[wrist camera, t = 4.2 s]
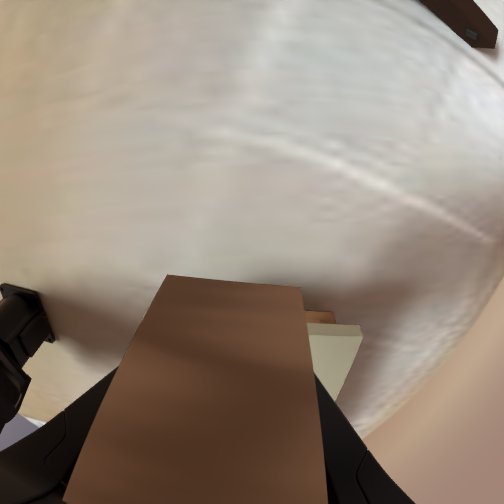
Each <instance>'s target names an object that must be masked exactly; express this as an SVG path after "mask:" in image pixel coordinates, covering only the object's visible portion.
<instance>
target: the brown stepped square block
mask: <svg viewBox="0 0 504 504" xmlns="http://www.w3.org/2000/svg"><path fill="white" fill-rule="evenodd" d="M62 501H64V502H66V503H67V504H328V497H327V485H326V473H325V463H324V452H323V443H322V434H321V425H320V416H319V408H318V400H317V392H316V384H315V377H314V370H313V362H312V355H311V349H310V342H309V335H308V329H307V322H306V316H305V310H304V304H303V298H302V292H301V287H290V286H278V285H266V284H255V283H244V282H233V281H223V280H213V279H203V278H194V277H185V276H175V275H167V276H166V278H165V279H164V281H163V283H162V285H161V287H160V288H159V290H158V292H157V294H156V296H155V298H154V299H153V301H152V303H151V305H150V307H149V309H148V310H147V312H146V314H145V316H144V318H143V320H142V322H141V324H140V326H139V328H138V329H137V331H136V333H135V335H134V337H133V339H132V341H131V343H130V345H129V347H128V349H127V351H126V353H125V355H124V357H123V359H122V361H121V363H120V365H119V367H118V369H117V371H116V373H115V376H114V378H113V380H112V382H111V384H110V386H109V388H108V390H107V392H106V395H105V397H104V399H103V401H102V403H101V406H100V408H99V410H98V412H97V414H96V417H95V419H94V421H93V424H92V426H91V428H90V431H89V433H88V435H87V438H86V440H85V442H84V445H83V447H82V450H81V452H80V455H79V457H78V460H77V462H76V465H75V467H74V470H73V472H72V475H71V478H70V480H69V483H68V486H67V488H66V491H65V494H64V497H63V500H62Z"/></svg>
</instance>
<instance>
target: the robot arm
mask: <svg viewBox="0 0 504 504" xmlns="http://www.w3.org/2000/svg"><path fill="white" fill-rule="evenodd" d="M0 291H1V294H2V297H3V299H2V300H1V301H0V434H1V431H2V429H3V427H4V425H5V423H8V422H9V421H10V420H12V419H13V418H14V417H15V415H16V414H17V412H18V411H19V409H20V407H21V404H22V401H23V399H24V396H25V394H26V391H27V389H28V386H29V384H30V382H31V378H30V376H29V375H27V374H26V373H25V372H24V371H23V370H22V367H23V366H24V364H25V363H26V362H27V360H28V359H29V357H33V355H34V354H35V352H36V351H37V350H38V348H39V347H40V346H41V344H42V343H43V342H44V341H46V342H49V343H53V342H54V341H55V338H54V336H53V333H52V331H51V328H50V326H49V323H48V321H47V318H46V315H45V313H44V310H43V307H42V304H41V302H40V299H39V296H38V294H37V293H36V292H33V291H29V290H25V289H21V288H17V287H14V286H10V285H6V284H1V285H0ZM118 367H119V366H118ZM118 367H116V368H115V369H114V370H113V371H112V372H110V373H109V374H108V375H107V376H105V377H104V378H103V379H102V380H100V381H99V382H98V383H97V384H95V385H94V386H93V387H92V388H90V389H89V390H88V391H87V392H85V393H84V394H83V395H82V396H80V397H79V398H78V399H77V400H75V401H74V402H73V403H72V404H70V405H69V406H68V407H67V408H65V409H64V411H61V412H60V413H59V414H58V415H56V416H55V417H54V418H53V419H51V420H50V421H49V422H47V423H46V424H45V425H43V426H42V427H40V428H39V429H37V430H36V431H34V432H33V433H31V434H29V435H28V436H26V437H24V438H23V439H21V440H19V441H18V442H16V443H14V444H13V445H11V446H9V447H8V448H6V449H4V450H2V451H0V504H67V503H66V502H64V501H62V500H63V497H64V494H65V491H66V488H67V486H68V483H69V480H70V478H71V475H72V472H73V470H74V467H75V465H76V462H77V460H78V457H79V455H80V452H81V450H82V447H83V445H84V442H85V440H86V438H87V435H88V433H89V431H90V428H91V426H92V424H93V421H94V419H95V417H96V414H97V412H98V410H99V408H100V406H101V403H102V401H103V399H104V397H105V395H106V392H107V390H108V388H109V386H110V384H111V382H112V380H113V378H114V376H115V373H116V371H117V369H118ZM314 377H315V384H316V392H317V400H318V408H319V416H320V425H321V434H322V443H323V452H324V463H325V473H326V485H327V497H328V504H415V503H414V502H413V501H412V500H411V499H410V498H409V497H408V496H407V495H406V494H405V493H404V492H403V490H402V489H401V488H400V487H399V486H398V485H397V484H396V483H395V482H394V481H393V480H392V479H391V478H390V477H389V475H388V474H387V473H386V472H385V471H384V470H383V468H382V467H381V466H380V464H379V463H378V462H377V461H376V459H375V458H374V457H373V455H372V454H371V452H370V451H369V450H367V447H366V445H365V444H364V443H363V441H362V440H361V438H360V437H359V435H358V434H357V433H356V431H355V430H354V428H353V427H352V426H351V424H350V423H349V421H348V420H347V419H346V417H345V416H344V414H343V413H342V411H341V410H340V409H339V407H338V406H337V404H336V403H335V401H334V400H333V399H332V397H331V396H330V394H329V393H328V391H327V390H326V388H325V387H324V386H323V384H322V383H321V381H320V380H319V378H318V377H317V376H316V374H315V373H314Z"/></svg>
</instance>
